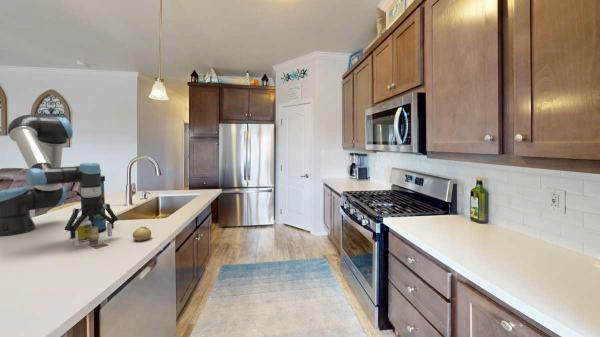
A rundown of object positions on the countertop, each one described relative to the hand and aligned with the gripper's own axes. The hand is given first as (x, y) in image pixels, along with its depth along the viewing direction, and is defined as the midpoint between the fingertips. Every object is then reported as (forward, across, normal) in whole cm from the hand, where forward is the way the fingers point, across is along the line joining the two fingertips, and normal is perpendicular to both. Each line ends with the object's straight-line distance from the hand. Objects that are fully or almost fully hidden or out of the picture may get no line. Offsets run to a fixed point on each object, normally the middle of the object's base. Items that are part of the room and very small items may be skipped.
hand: (93, 240), depth 124 cm
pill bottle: (+2, 0, +10) cm, 11 cm away
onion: (+2, +15, -14) cm, 20 cm away
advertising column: (+2, +9, +22) cm, 23 cm away
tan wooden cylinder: (+2, 0, 0) cm, 2 cm away
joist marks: (+2, 0, +6) cm, 6 cm away
